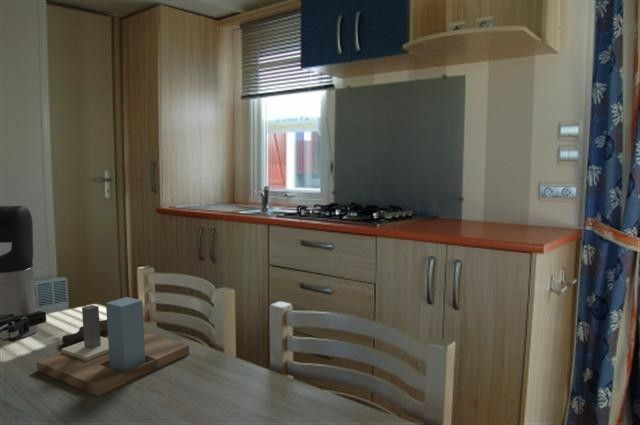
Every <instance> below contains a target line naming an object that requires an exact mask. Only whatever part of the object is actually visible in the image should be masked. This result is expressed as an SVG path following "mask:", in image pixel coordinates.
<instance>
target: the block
mask: <svg viewBox="0 0 640 425" xmlns="http://www.w3.org/2000/svg"><path fill="white" fill-rule="evenodd" d="M105 309H106V320H107V329H108V345H109V362H110V369H113V370H116V371H119V372H122V373H125V372H127V371H129V370H131V369H134V368H136V367H138V366H140V365H143V364H145V346H144V333H145V327H144V326H145V325H144V313H143V312H144V311H143V300H142V299H138V298H133V297H130V296H129V297H128V296H125V297H121V298H119V299H115V300H111V301H109V302H105Z"/></svg>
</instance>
